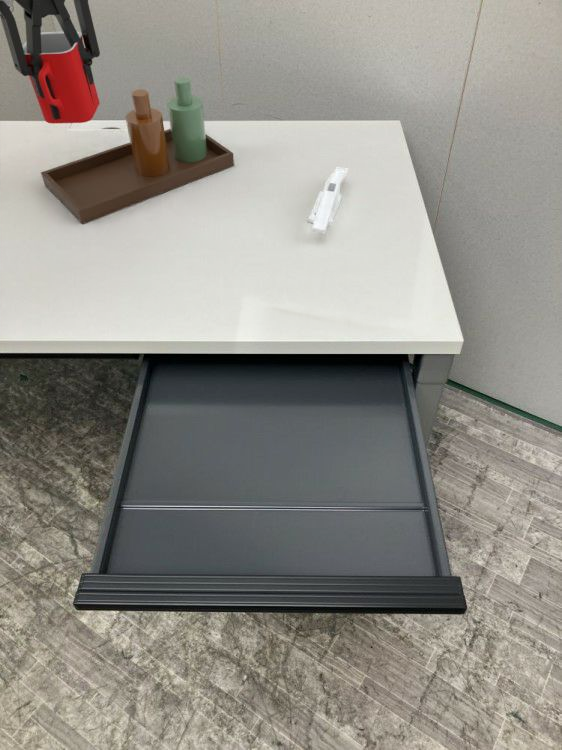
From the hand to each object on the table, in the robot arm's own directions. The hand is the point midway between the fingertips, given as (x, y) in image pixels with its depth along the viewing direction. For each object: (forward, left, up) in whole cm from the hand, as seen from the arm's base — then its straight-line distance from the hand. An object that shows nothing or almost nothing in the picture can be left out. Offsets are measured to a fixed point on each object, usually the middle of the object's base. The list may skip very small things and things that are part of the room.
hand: (71, 110), depth 95 cm
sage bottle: (+21, +1, -15) cm, 26 cm away
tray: (+10, +1, -15) cm, 18 cm away
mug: (-1, 0, -1) cm, 1 cm away
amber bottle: (+13, +1, -15) cm, 19 cm away
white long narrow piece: (+30, -29, -15) cm, 45 cm away
